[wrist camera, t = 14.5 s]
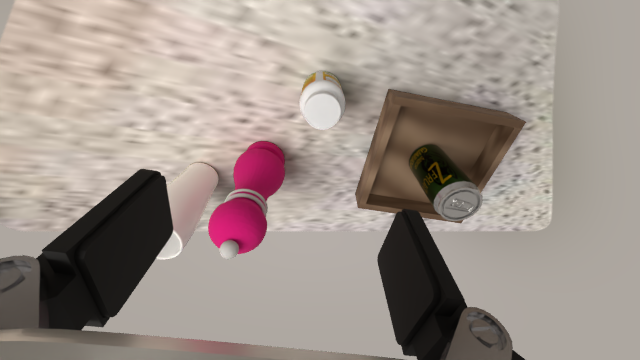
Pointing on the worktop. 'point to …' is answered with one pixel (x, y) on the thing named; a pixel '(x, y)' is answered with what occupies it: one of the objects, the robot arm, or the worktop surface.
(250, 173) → the pepper mill
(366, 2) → the worktop surface
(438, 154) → the beer can
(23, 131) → the worktop surface
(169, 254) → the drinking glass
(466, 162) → the box
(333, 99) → the supplement bottle
